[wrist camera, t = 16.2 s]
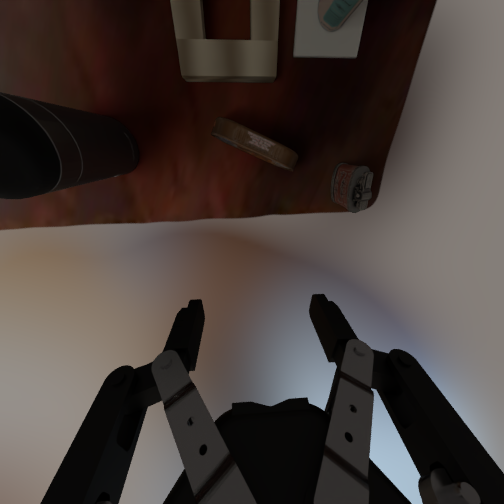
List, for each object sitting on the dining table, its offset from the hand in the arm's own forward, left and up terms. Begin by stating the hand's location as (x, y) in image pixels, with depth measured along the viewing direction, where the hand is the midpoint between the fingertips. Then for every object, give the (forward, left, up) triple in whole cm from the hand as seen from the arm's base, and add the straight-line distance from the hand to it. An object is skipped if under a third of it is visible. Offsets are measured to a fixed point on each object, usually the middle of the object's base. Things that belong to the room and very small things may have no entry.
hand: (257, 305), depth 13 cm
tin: (+2, +10, -30) cm, 32 cm away
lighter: (+20, +3, -30) cm, 36 cm away
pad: (+13, +27, -30) cm, 42 cm away
